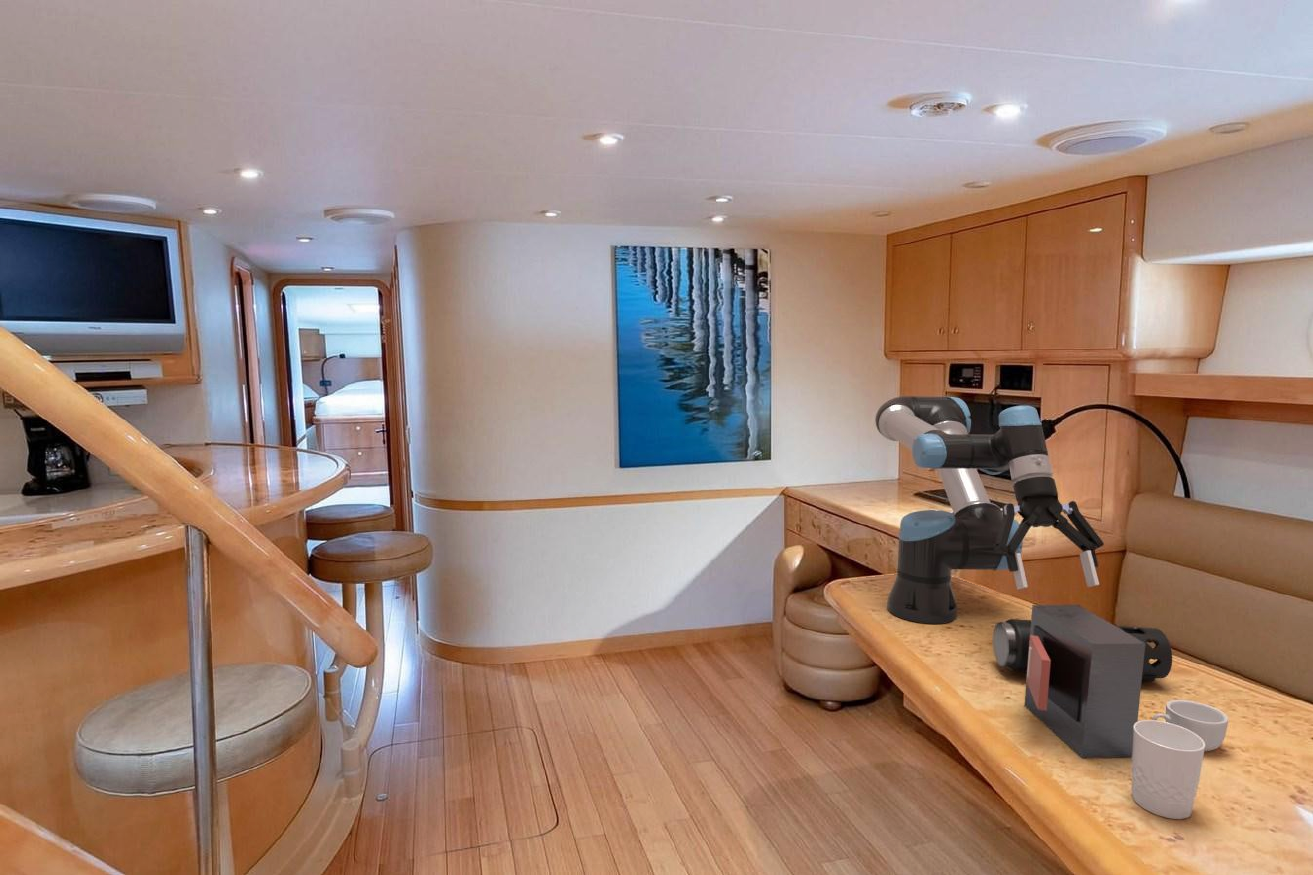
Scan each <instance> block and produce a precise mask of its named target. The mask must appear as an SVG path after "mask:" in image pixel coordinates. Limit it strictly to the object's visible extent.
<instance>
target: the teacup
mask: <svg viewBox="0 0 1313 875" xmlns="http://www.w3.org/2000/svg"><path fill="white" fill-rule="evenodd" d="M1158 718H1163V719H1164V720H1165V722H1168V723H1171V724H1175V725H1178V726H1181V727H1183V728H1186V729H1188V730H1190V731H1192V732H1193V733H1195V734H1197V735H1198V736H1199V737H1201V738H1202V739H1203V741H1204V742H1205V750H1204V752H1211V751H1213V750H1216V749H1218V748H1219V747H1221V745H1222V744H1223V742H1224V740H1225V737H1226V734H1227V729H1228V724H1229V717H1228V716H1227V714H1226V712H1225V713H1224V712H1223V711H1221V710H1220V709H1218V708H1216V707H1214V706H1211V705H1210V704H1209V705H1208V704H1205V703H1202V702H1198V701H1195V700H1194V701H1193V700H1189V699H1171V700H1167V702H1166V704H1165V713H1156V714H1155V715H1154V716H1153V717H1152V719H1151V720H1157V721H1158Z"/></svg>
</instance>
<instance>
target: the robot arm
mask: <svg viewBox="0 0 1313 875" xmlns="http://www.w3.org/2000/svg"><path fill="white" fill-rule="evenodd" d="M970 417H971V412H970V410H969V407H968V405H967V403H966V402H965V401H964V400H963V399H961V398H959V397H955V396H949V395H942V396H941V395H940V396H920V395H919V396H917V395H916V396H914V395H913V396H909V395H908V396H907V395H903V396H897V397H893V398H892V399H891V398H890V399H889V400H887V401H886V402H884V403H883V404H882V405H881V406H880V407H879V408H878V409H877V412H876V414H875V422H874V423H875V428H876V429H877V431H878V432H879V433H880V434H881V435H882V436H883V437H884V438H885V439H887V440H889V441H893V442H898V443H900V444H901V445H903V446H904V447H906V448H907V449H908V450H910V451H912V459H913V461H914V464H915V465H916V466H917V467H918V468H922V469H930V470H936V469H937V472H938V473H939V476H940V477H939V478H940V479H941V482H942V486H943V487H944V491H945V494H946V497H947V499H948V501H949V505H950V507H951V510H952V512H950V511H948V510H947V511H946V510H941V509H940V510H936V509H926V510H924V509H923V510H918V511H913V512H910V513H908V514H906V515H904V516H903V517H902V518H901V520H900V524H899V532H898V535H897V537H898V552H897V553H898V554H897V572H896V578H895V581H894V583H893V586H892V588H891V591H890V592H889V596H888V598H887V606H886V607H887V610H888V612H890V614H892V615H893V616H896V617H898V618H901V619H903V620H907V621H910V622H915V623H920V624H932V625H933V624H934V625H937V624H947V623H951V622H954V621H955V620H956V619H957V617H958V616H957V615H958V605H957V602H956V599H955V598H956V597H955V595H954V591H953V587H952V583H951V582H952V580H951V578H952V570H971V571H972V570H974V571H975V570H977V571H979V570H980V571H981V570H983V571H995V572H996V571H1001V570H1002V571H1003V570H1008V571H1009V572H1011V573H1012V572H1013V576H1014V580H1015V581H1014V582H1015V586H1016V590H1018V591H1019V590H1025V589H1027V588H1028V581H1027V578H1026V577H1027V576H1026V573H1025V569H1024V563H1023V559H1022V552H1023V544H1024V542H1023V541H1024V538H1025V537H1026V535H1027V533H1028V532H1029V530H1030V528H1031V527H1032V528H1038V527H1043V528H1047V527H1051V526H1052V527H1053V528H1054V529H1056V530H1058V531H1059V532H1060V533H1062V534H1063V535H1064V536H1065V537H1066V538H1067V539H1069V541H1071V542H1072V543H1073V544H1074V545H1075V546H1077V547H1078V548H1079V549H1080V550H1081V551H1082V552H1079V558H1080V562H1081V568H1082V570H1083V575H1084V578H1085V582H1086V583H1085V584H1086V586H1087V588H1092V587H1096V586H1099V585H1100V581H1099V577H1098V574H1097V570H1096V568H1099V563H1098V559H1097V554H1096V550H1098V549H1099V548H1101V547H1103V546H1104V541H1103V540H1102V539H1101V538H1100V536H1099V535H1098V534H1097V532H1096V531H1095V530H1094V528H1093V527H1092V526H1091V524H1090V523H1089V522H1088V521H1087V519H1086V518H1085V517H1084V515H1083V514H1082V513H1081V511H1080V510H1079V507H1078V503H1077V502H1076V501H1075V500H1071V501H1069V502H1068V503H1067V502H1066V503H1061V502H1060V500H1059V492H1058V488H1057V485H1056V484H1057V483H1056V481H1055V479H1054V478H1053V476H1054V474H1053V473H1054V472H1053V469H1052V464H1051V461H1050V457H1049V453H1048V452H1049V451H1048V447H1047V444H1046V443H1047V442H1046V438H1045V433H1044V429H1043V423H1042V422H1041V420H1040V416H1039V414H1038V410H1037V408H1036V407H1034V406H1032V405H1016V406H1010V407H1008V408H1006V409H1004V410H1002V411H1001V412H1000V413H999V414H998V426H999V430H998V431H996V432H995V433H994V434H970V432H971V428H972V427H971V426H972V420H971V418H970ZM978 470H980V471H981V472H984V473H985V474H987V475H992V476H994V475H1000V474H1002V473H1005V472H1006V471H1008V470H1009V472H1010V477H1011V482H1012V483H1014V484H1013V491H1014V496H1015V500H1016V502H1017V505H1014V504H1013V503H1011V502H1010V503H1007V504H1005V505H1004V506H1003V507H1002V509H1001V508H1000V506H998V505H997V504H995V503H993V502H991V500H990V498H989V495H988V493H987V491H986V488H985V486H984V484H983V481H982V479H981V476H980V474H979V472H978ZM1062 512H1063V514H1064V515H1066V516H1067V518H1066V517H1065V516H1064V515H1063V514H1062ZM1017 513H1018V514H1019V516H1021V518H1022V520H1021V521H1020V522H1019V521H1018V520H1017V519H1015V516H1017ZM1068 519H1069V520H1068ZM1069 521H1070V522H1071V523H1072V524H1071V523H1069Z"/></svg>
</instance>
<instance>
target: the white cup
mask: <svg viewBox="0 0 1313 875" xmlns="http://www.w3.org/2000/svg"><path fill="white" fill-rule="evenodd" d="M1204 750H1205V742H1204V741H1203V739H1202V738H1201V737H1199V736H1198V735H1197V734H1195V733H1193V732H1192V731H1190V730H1188V729H1186V728H1183V727H1181V726H1178V725H1175V724H1171V723H1168V722H1166V721H1162V720H1158V719H1157V720H1152V719H1143V720H1138V721H1137V722H1136V723H1135V724H1134V726H1133V747H1132V758H1131V779H1132V780H1131V796H1132V799H1133V801H1134V802H1135V803H1136V804H1137V805H1138V806H1140V807H1141V808H1142V809H1143V810H1146V811H1148V812H1149V813H1152V814H1154V815H1156V816H1159V817H1163V818H1167V819H1172V820H1173V819H1174V820H1183V819H1187V818H1190V817H1191V814H1192V813H1193V809H1194V804H1195V803H1194V802H1195V798H1196V797H1197V792H1198V787H1199V783H1200V779H1201V778H1200V777H1201V773H1202V766H1203V759H1204V755H1205V751H1204Z"/></svg>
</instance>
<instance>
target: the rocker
mask: <svg viewBox="0 0 1313 875" xmlns="http://www.w3.org/2000/svg"><path fill="white" fill-rule="evenodd" d="M1050 664H1051V660H1050V658H1049V656H1048V655H1047V653H1046V651H1045V649H1044V647H1043V645H1042V643H1041V641H1040V639H1039V637H1038V636H1033V635H1030V641H1029V653H1028V666H1027V672H1026V677H1025V678H1026V679H1025V683H1026V682H1027V684H1028V686H1029V689H1030V691H1031V694H1032V696H1033V699H1034V701H1035V704H1036V706H1037V709H1039V710H1046V711H1047V699H1048V687H1049V675H1050Z"/></svg>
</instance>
